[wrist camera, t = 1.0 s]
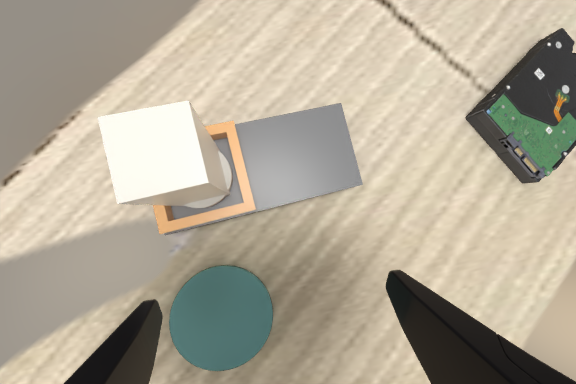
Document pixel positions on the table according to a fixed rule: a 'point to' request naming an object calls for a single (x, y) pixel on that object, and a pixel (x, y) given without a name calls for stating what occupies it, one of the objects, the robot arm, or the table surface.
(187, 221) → the framed tray with cover
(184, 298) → the mat
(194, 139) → the tall white square post
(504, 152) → the disk drive
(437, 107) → the table surface
